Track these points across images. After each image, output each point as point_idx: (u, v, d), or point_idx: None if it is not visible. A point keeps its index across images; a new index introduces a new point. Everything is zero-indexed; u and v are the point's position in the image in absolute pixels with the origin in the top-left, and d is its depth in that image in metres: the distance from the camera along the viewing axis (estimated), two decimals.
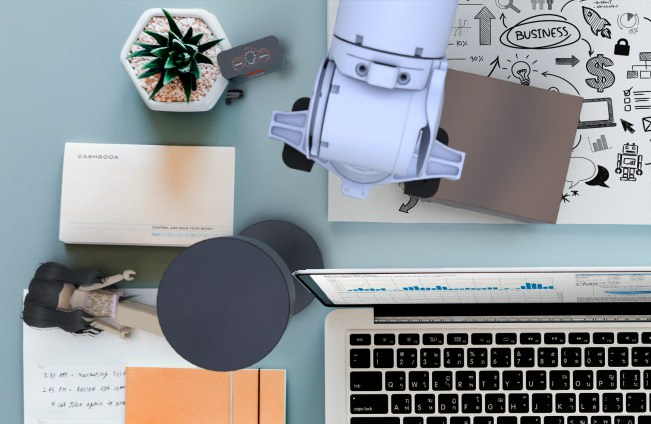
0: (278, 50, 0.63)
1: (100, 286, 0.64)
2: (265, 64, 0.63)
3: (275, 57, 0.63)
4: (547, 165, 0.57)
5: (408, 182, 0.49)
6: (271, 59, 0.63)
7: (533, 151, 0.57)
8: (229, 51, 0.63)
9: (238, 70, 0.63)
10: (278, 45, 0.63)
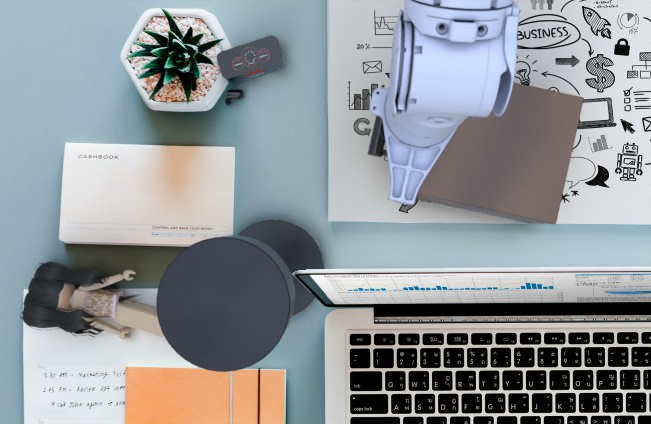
0: (278, 50, 0.63)
1: (100, 286, 0.64)
2: (265, 64, 0.63)
3: (275, 57, 0.63)
4: (547, 165, 0.57)
5: None
6: (271, 59, 0.63)
7: (533, 151, 0.57)
8: (229, 51, 0.63)
9: (238, 70, 0.63)
10: (278, 45, 0.63)
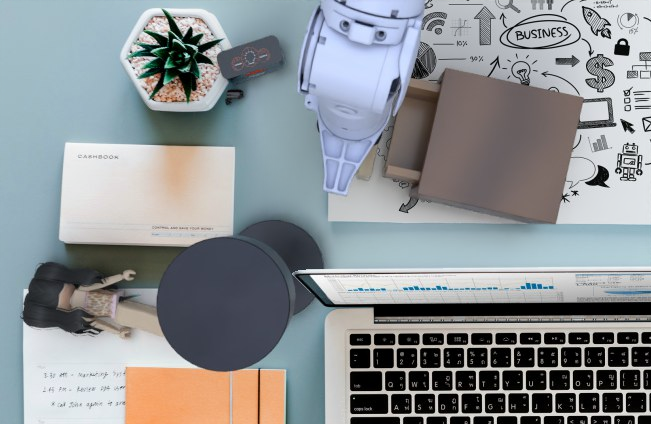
0: (278, 50, 0.63)
1: (100, 286, 0.64)
2: (265, 64, 0.63)
3: (275, 57, 0.63)
4: (547, 165, 0.57)
5: None
6: (271, 59, 0.63)
7: (533, 151, 0.57)
8: (229, 51, 0.63)
9: (238, 70, 0.63)
10: (278, 45, 0.63)
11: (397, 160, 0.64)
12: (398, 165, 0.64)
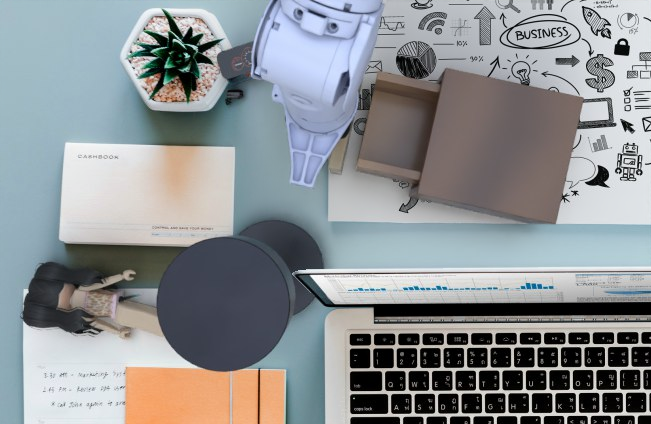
0: None
1: (100, 286, 0.64)
2: None
3: None
4: (547, 165, 0.57)
5: None
6: None
7: (533, 151, 0.57)
8: (229, 51, 0.63)
9: (238, 70, 0.63)
10: None
11: (370, 154, 0.64)
12: (371, 159, 0.64)
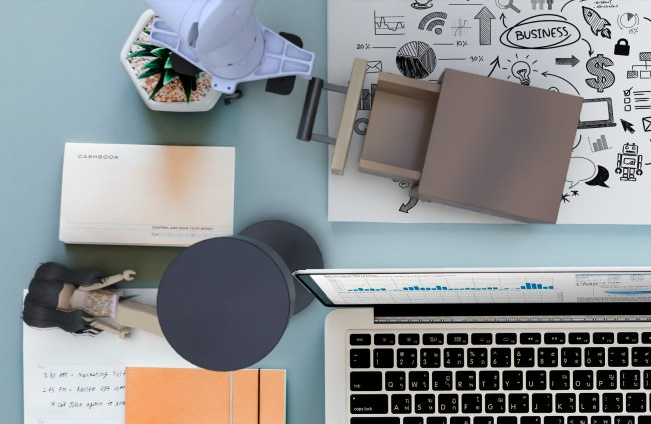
0: None
1: (100, 286, 0.64)
2: None
3: None
4: (547, 165, 0.57)
5: (268, 81, 0.58)
6: None
7: (533, 151, 0.57)
8: None
9: None
10: None
11: (371, 154, 0.64)
12: (372, 159, 0.64)
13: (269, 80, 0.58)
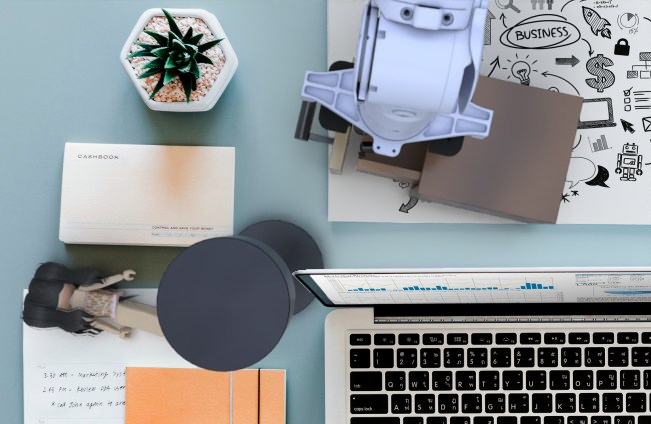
0: None
1: (100, 286, 0.64)
2: None
3: None
4: (547, 165, 0.57)
5: (433, 140, 0.51)
6: None
7: (533, 151, 0.57)
8: None
9: None
10: None
11: (370, 154, 0.64)
12: (371, 159, 0.64)
13: (434, 139, 0.51)
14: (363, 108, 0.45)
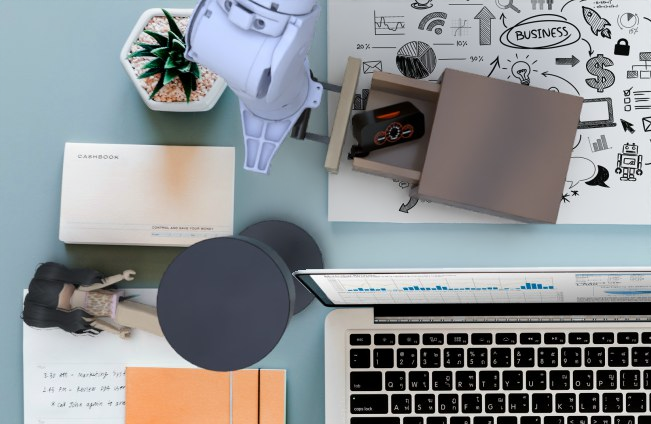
0: (422, 127, 0.61)
1: (100, 286, 0.64)
2: (406, 140, 0.61)
3: (417, 133, 0.61)
4: (547, 165, 0.57)
5: None
6: (413, 135, 0.61)
7: (533, 151, 0.57)
8: (375, 125, 0.59)
9: (379, 144, 0.60)
10: (423, 122, 0.60)
11: None
12: (367, 158, 0.64)
13: None
14: (282, 109, 0.49)
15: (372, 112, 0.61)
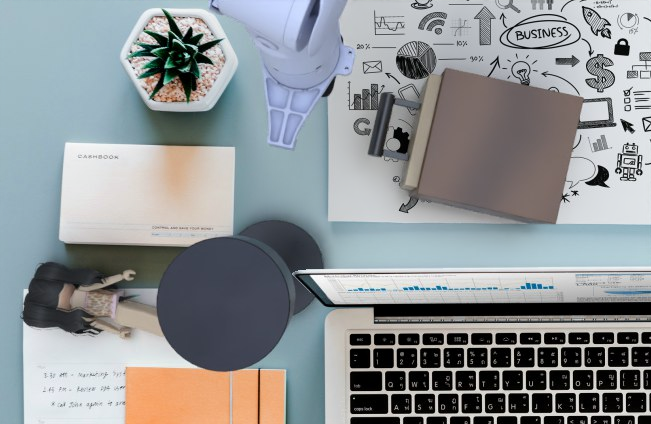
0: None
1: (100, 286, 0.64)
2: None
3: None
4: (547, 165, 0.57)
5: None
6: None
7: (533, 151, 0.57)
8: None
9: None
10: None
11: None
12: None
13: None
14: (313, 73, 0.44)
15: None
